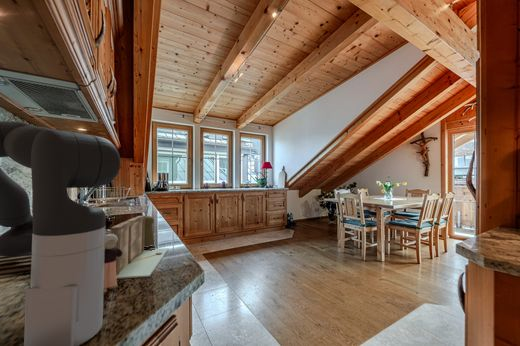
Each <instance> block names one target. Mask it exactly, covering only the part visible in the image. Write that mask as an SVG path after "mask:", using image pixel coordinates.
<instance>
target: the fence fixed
mask: <svg viewBox="0 0 520 346" xmlns="http://www.w3.org/2000/svg"><path fill="white" fill-rule="evenodd" d="M129 225H130V222H125V221H123V222H121V223H118V224H116V225H113V226H112V227H110V230H111V234H114V235H116V236H117V237H118V240H117V242H116V245H115V247H114V248H118V249H120V250H121V251H122V252H123V256H124V260H122V261H121V260H120V258H119V257H116V276H117V275H118V274H120V271H122V270H123V269H124V268H125V267H126V266H127V265H128V239H129Z"/></svg>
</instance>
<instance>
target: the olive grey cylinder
mask: <svg viewBox="0 0 520 346" xmlns="http://www.w3.org/2000/svg"><path fill="white" fill-rule="evenodd" d="M144 216H145V243H144V246H149V245H153V244H154V243H155V235H154V228H153V224H154V223H155V219H154V217H153V216H151V215H144Z"/></svg>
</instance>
